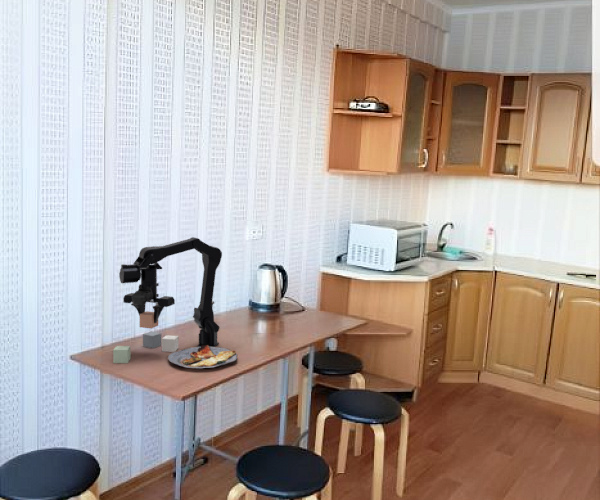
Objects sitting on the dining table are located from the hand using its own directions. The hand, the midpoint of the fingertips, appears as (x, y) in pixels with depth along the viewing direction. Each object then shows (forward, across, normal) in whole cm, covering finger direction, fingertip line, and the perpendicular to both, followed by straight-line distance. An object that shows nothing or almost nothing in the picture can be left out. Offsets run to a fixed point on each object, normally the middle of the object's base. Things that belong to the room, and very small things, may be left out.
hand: (149, 322), depth 233 cm
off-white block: (+12, +5, +7) cm, 15 cm away
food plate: (+12, +23, -1) cm, 26 cm away
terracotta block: (+2, 0, 0) cm, 2 cm away
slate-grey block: (+12, -4, +9) cm, 16 cm away
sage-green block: (+12, -4, -12) cm, 18 cm away
